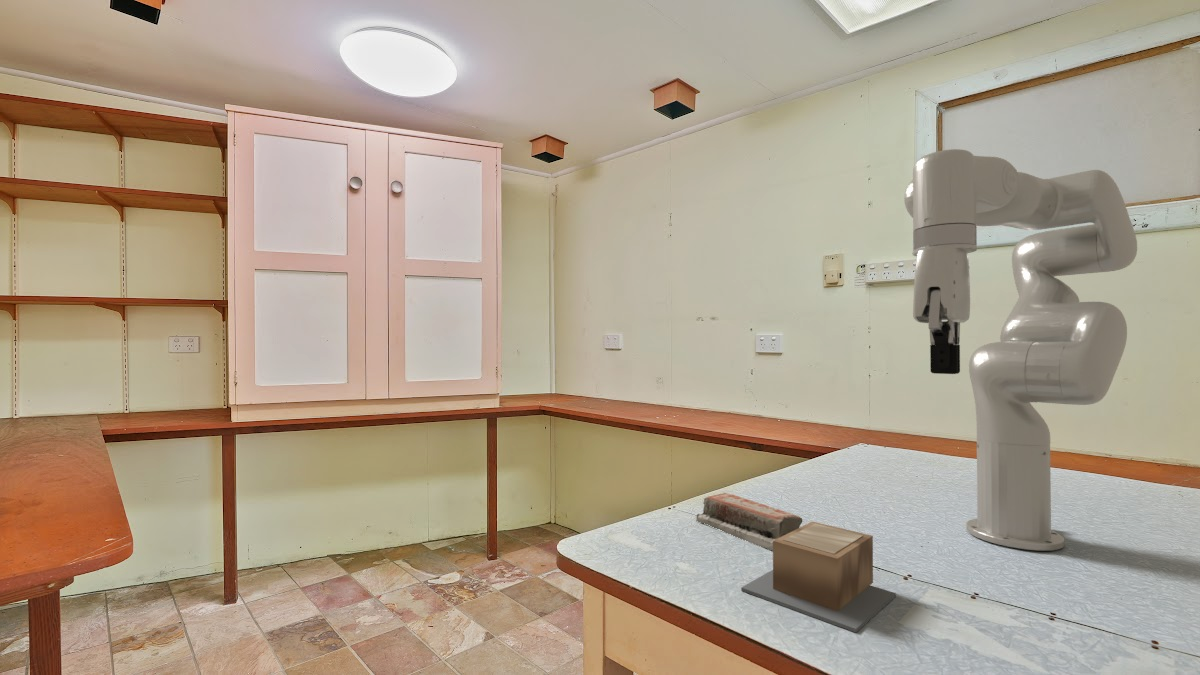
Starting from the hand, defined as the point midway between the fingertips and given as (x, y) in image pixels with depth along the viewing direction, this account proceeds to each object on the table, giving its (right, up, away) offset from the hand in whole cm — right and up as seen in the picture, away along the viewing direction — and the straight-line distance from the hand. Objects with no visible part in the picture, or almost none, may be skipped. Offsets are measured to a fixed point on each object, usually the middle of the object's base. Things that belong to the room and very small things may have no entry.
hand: (945, 373), depth 76 cm
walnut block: (-16, -24, -3) cm, 29 cm away
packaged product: (-22, -28, +15) cm, 39 cm away
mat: (-21, -27, -8) cm, 35 cm away
